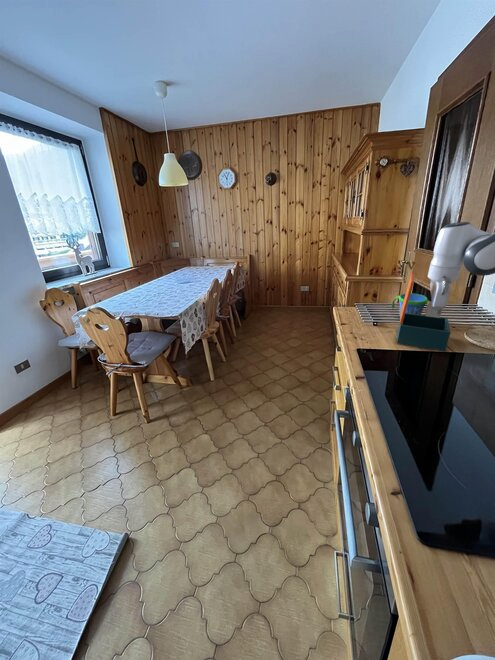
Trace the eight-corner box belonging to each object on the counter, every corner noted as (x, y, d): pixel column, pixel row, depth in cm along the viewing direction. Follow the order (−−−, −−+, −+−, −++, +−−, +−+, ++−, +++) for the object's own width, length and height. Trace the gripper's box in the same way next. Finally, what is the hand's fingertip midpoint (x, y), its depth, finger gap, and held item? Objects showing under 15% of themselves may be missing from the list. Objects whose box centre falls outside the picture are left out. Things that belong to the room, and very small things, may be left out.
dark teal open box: (442, 335, 110) (447, 318, 107) (445, 351, 100) (450, 332, 97) (398, 329, 117) (401, 312, 113) (396, 343, 107) (400, 325, 104)
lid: (414, 272, 105) (411, 271, 105) (414, 282, 95) (411, 281, 96) (403, 311, 113) (400, 311, 113) (402, 324, 103) (399, 324, 104)
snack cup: (385, 317, 128) (389, 296, 123) (396, 310, 133) (400, 290, 129) (422, 328, 117) (428, 305, 112) (432, 320, 122) (438, 298, 118)
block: (439, 313, 104) (442, 302, 102) (439, 318, 100) (443, 306, 98) (425, 311, 105) (427, 300, 103) (425, 316, 102) (428, 305, 100)
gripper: (458, 283, 86) (446, 323, 93) (451, 266, 102) (441, 301, 108) (434, 281, 89) (424, 320, 95) (431, 265, 105) (422, 299, 111)
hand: (433, 310), depth 102 cm, fingers closed on block, 4 cm apart
